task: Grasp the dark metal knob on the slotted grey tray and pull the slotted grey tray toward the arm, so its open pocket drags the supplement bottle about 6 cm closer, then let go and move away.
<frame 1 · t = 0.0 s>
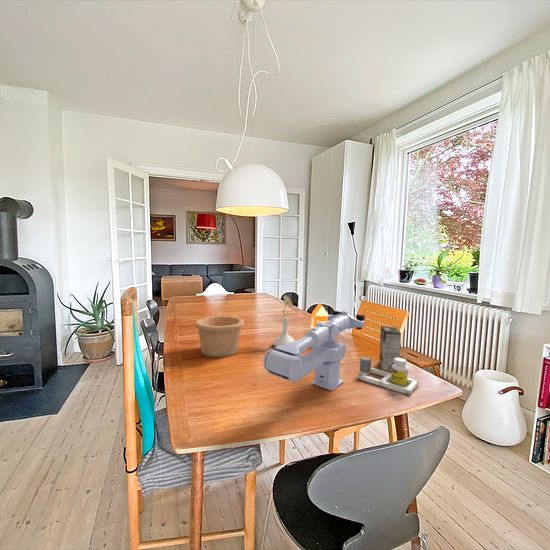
hand: (354, 315, 123), 22 cm above the table, tool horizontal, fingers open, 7 cm apart
slotted grey tray: (386, 372, 112), point 3 cm above the table, slide at 0.0 cm
supplement bottle: (398, 386, 110), resting in slotted grey tray
coffee box: (388, 367, 127), on the table
flower in vase: (284, 346, 150), on the table
pottery: (219, 351, 140), on the table
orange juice: (319, 342, 158), on the table
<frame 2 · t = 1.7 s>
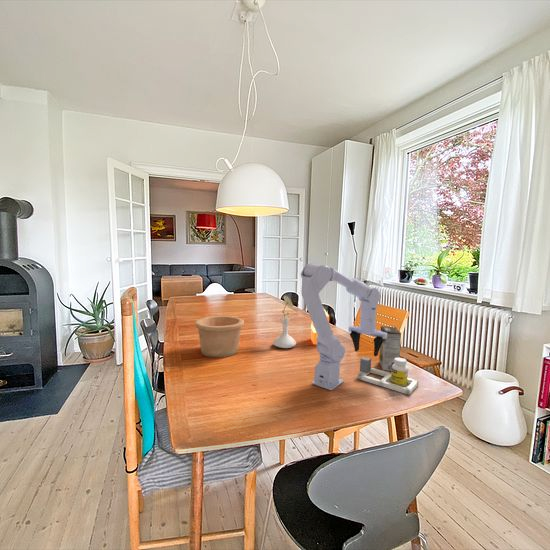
hand: (366, 353, 117), 9 cm above the table, tool pointing down, fingers open, 7 cm apart
nothing on the table moved.
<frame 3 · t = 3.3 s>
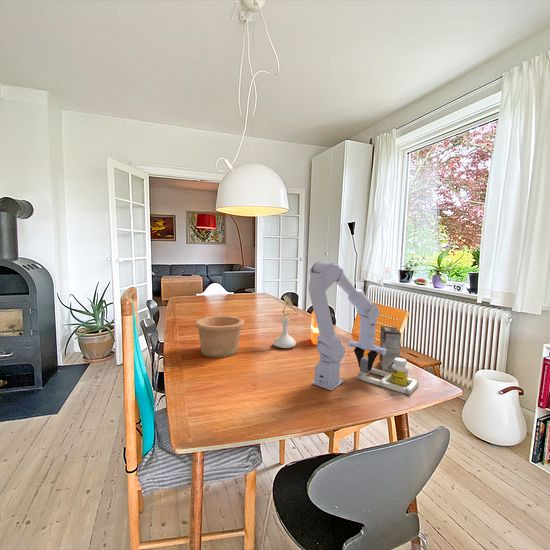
hand: (365, 368, 117), 3 cm above the table, tool pointing down, fingers closed on slotted grey tray, 3 cm apart
slotted grey tray: (386, 372, 112), point 3 cm above the table, slide at 0.0 cm, touching gripper
everything else where it was.
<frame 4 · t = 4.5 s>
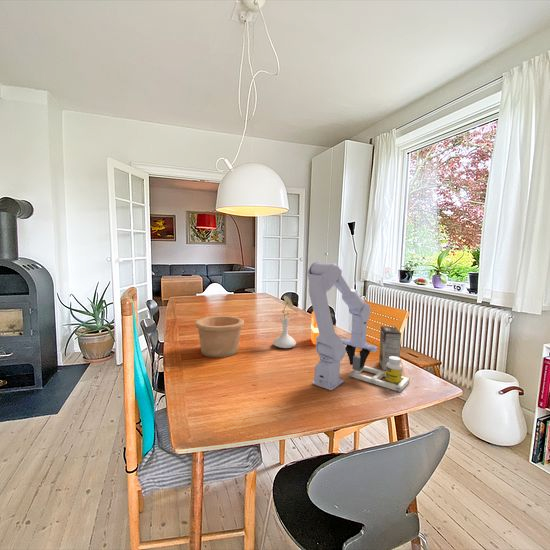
hand: (357, 365, 119), 3 cm above the table, tool pointing down, fingers open, 4 cm apart
slotted grey tray: (378, 370, 114), point 3 cm above the table, slide at 3.1 cm, touching supplement bottle, gripper
supplement bottle: (393, 384, 111), resting in slotted grey tray
everything else where it was.
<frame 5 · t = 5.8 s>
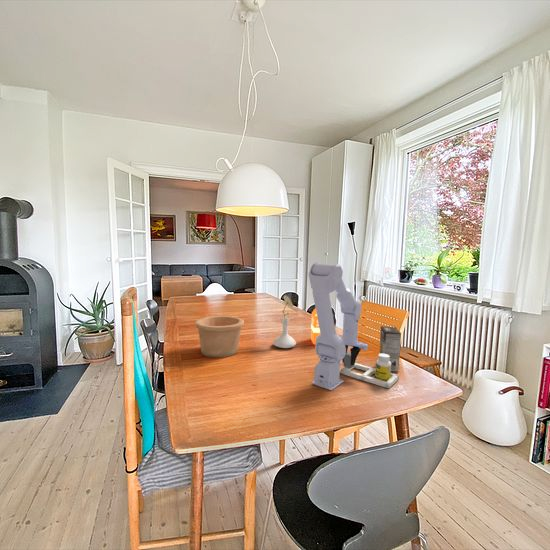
hand: (348, 363, 122), 3 cm above the table, tool pointing down, fingers closed on slotted grey tray, 3 cm apart
slotted grey tray: (368, 367, 116), point 3 cm above the table, slide at 7.0 cm, touching supplement bottle, gripper
supplement bottle: (382, 381, 113), resting in slotted grey tray
everything else where it was.
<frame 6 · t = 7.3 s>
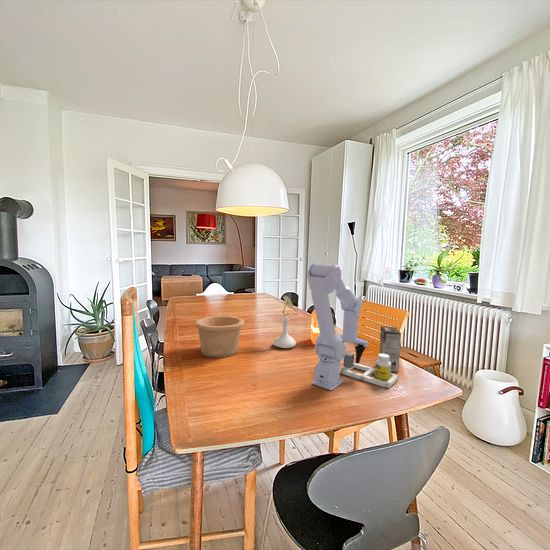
hand: (348, 360, 122), 4 cm above the table, tool pointing down, fingers open, 7 cm apart
slotted grey tray: (368, 367, 116), point 3 cm above the table, slide at 7.0 cm
supplement bottle: (382, 381, 113), resting in slotted grey tray
everything else where it was.
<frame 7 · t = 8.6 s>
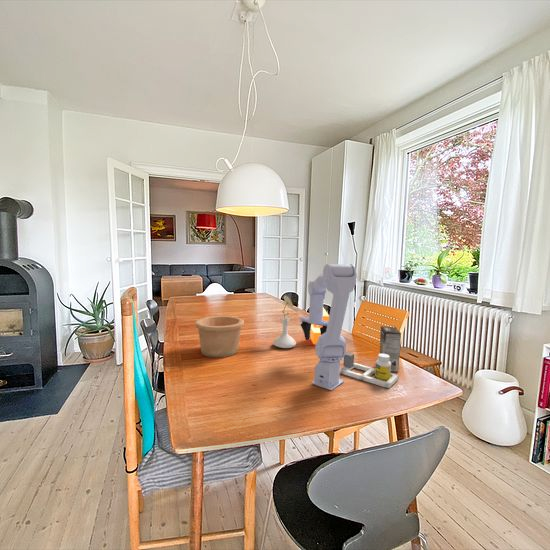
hand: (314, 341, 128), 9 cm above the table, tool pointing down, fingers open, 7 cm apart
nothing on the table moved.
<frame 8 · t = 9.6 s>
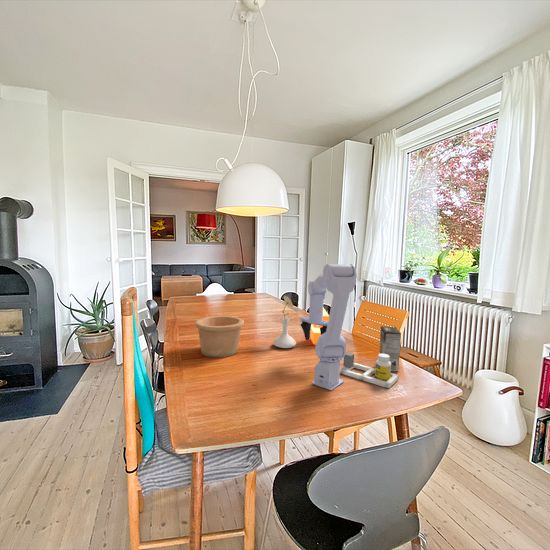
hand: (314, 341, 128), 9 cm above the table, tool pointing down, fingers open, 7 cm apart
nothing on the table moved.
at the end: slotted grey tray slide at 7.0 cm; supplement bottle inside the target area (0.3 cm from its centre), resting in slotted grey tray; supplement bottle tilted 0° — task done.
